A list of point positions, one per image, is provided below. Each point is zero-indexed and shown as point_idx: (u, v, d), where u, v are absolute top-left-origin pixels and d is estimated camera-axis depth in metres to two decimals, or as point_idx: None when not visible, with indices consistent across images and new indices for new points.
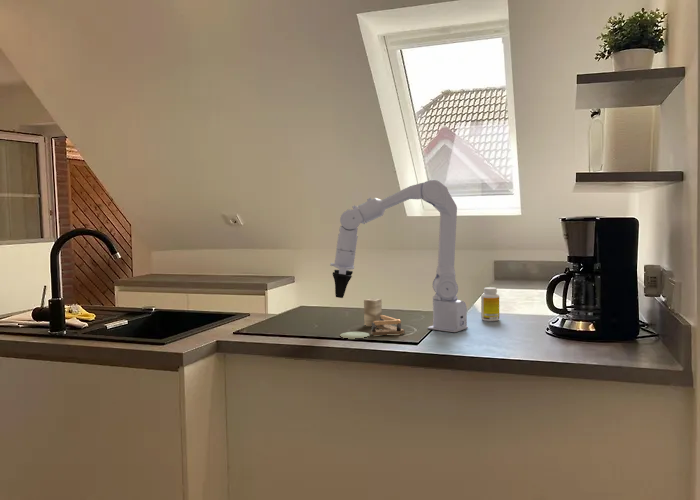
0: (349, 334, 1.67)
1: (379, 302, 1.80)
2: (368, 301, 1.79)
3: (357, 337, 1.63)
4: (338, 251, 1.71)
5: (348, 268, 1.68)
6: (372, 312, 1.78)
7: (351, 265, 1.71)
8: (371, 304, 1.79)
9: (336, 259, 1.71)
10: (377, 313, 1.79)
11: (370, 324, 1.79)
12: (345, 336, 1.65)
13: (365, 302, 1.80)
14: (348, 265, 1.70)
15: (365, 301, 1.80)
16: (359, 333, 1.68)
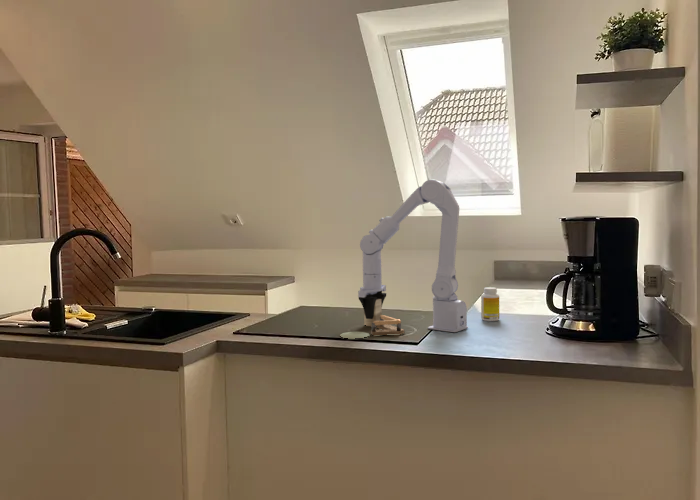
0: (349, 334, 1.67)
1: (379, 302, 1.80)
2: None
3: (357, 337, 1.63)
4: (363, 275, 1.79)
5: (369, 291, 1.75)
6: None
7: (376, 287, 1.78)
8: None
9: (363, 283, 1.80)
10: (377, 313, 1.79)
11: (370, 324, 1.79)
12: (345, 336, 1.65)
13: None
14: (372, 288, 1.77)
15: None
16: (359, 333, 1.68)
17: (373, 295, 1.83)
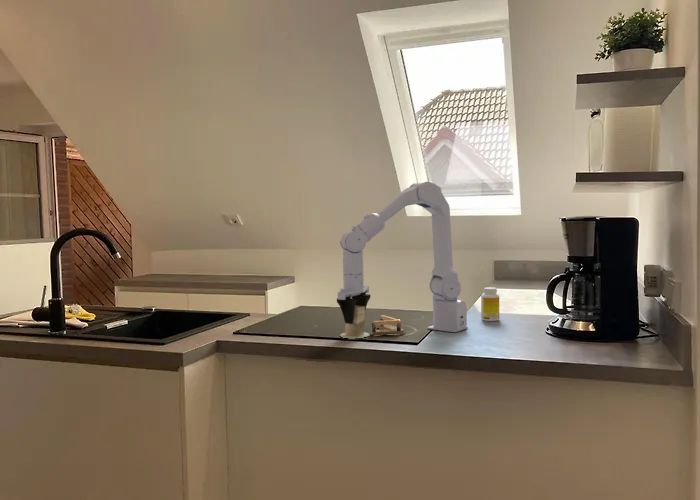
0: None
1: (362, 310, 1.65)
2: None
3: (357, 337, 1.63)
4: (343, 275, 1.65)
5: (350, 292, 1.61)
6: (354, 321, 1.64)
7: (357, 289, 1.63)
8: None
9: None
10: (359, 322, 1.64)
11: (351, 333, 1.65)
12: (345, 336, 1.65)
13: None
14: (353, 289, 1.63)
15: None
16: None
17: (356, 297, 1.69)
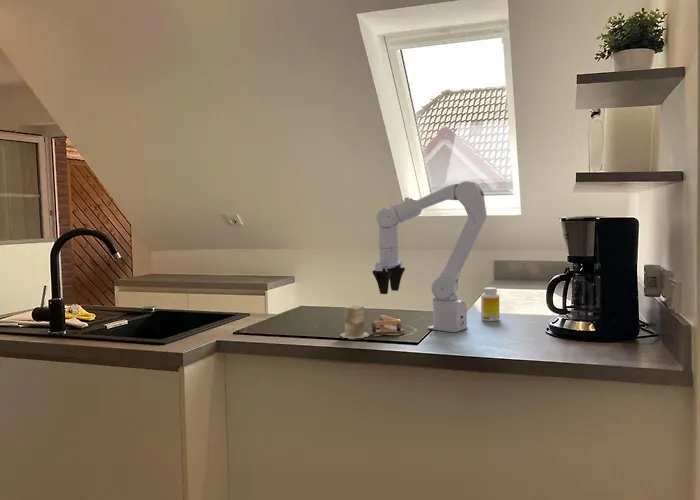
0: None
1: (361, 310, 1.65)
2: (349, 309, 1.64)
3: (357, 337, 1.63)
4: (379, 249, 1.77)
5: (386, 265, 1.73)
6: (354, 321, 1.64)
7: (393, 261, 1.75)
8: (352, 312, 1.64)
9: None
10: (358, 322, 1.64)
11: (351, 334, 1.65)
12: (345, 336, 1.65)
13: (346, 310, 1.65)
14: (389, 262, 1.75)
15: (346, 309, 1.65)
16: None
17: (391, 269, 1.82)
